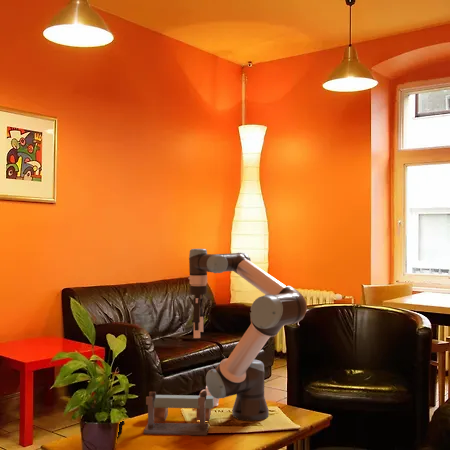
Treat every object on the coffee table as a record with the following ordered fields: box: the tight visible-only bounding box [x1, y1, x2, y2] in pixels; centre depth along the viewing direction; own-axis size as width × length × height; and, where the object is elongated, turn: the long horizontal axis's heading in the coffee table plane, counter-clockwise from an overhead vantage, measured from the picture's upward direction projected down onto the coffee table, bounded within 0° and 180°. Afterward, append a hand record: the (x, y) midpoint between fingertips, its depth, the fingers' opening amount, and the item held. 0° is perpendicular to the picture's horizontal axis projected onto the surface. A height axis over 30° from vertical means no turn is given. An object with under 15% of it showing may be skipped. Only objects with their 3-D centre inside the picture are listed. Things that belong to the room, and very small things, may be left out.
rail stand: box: [143, 391, 210, 436], centre depth 224 cm, size 24×8×14 cm, turn 86°
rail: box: [154, 394, 215, 410], centre depth 238 cm, size 26×4×4 cm, turn 86°
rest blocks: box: [154, 408, 212, 423], centre depth 238 cm, size 23×8×5 cm, turn 86°
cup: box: [198, 385, 220, 407], centre depth 255 cm, size 7×10×8 cm
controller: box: [117, 420, 126, 437], centre depth 219 cm, size 4×12×10 cm, turn 25°
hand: (198, 334), depth 247 cm, fingers open, 13 cm apart
